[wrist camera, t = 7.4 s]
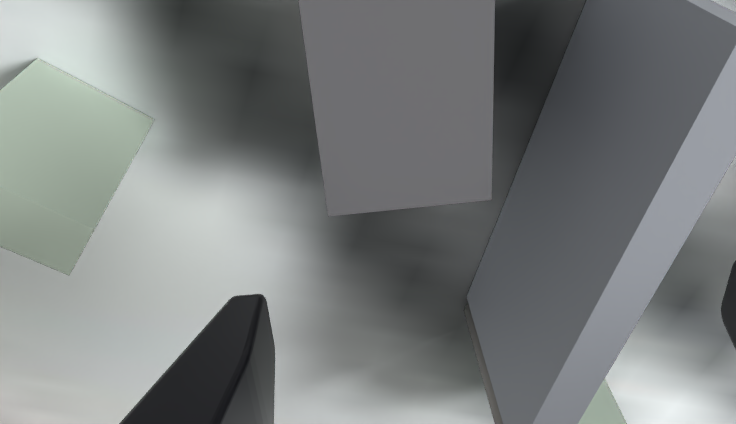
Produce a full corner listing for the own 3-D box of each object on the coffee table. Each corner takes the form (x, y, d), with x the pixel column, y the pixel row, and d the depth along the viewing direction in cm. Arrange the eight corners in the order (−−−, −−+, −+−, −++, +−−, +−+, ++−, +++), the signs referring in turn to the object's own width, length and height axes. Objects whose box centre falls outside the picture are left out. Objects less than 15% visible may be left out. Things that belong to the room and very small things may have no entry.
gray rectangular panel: (488, 322, 24) (545, 503, 18) (457, 317, 24) (504, 498, 18) (643, -33, 18) (818, 53, 12) (603, -44, 18) (759, 38, 11)
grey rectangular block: (457, 118, 20) (491, 200, 16) (328, 130, 20) (328, 216, 16) (454, -95, 17) (495, -64, 13) (301, -80, 17) (292, -43, 13)
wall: (589, 348, 25) (656, 483, 20) (563, 372, 26) (621, 509, 21) (37, 57, 18) (-74, 153, 13) (19, 100, 19) (-93, 206, 14)
